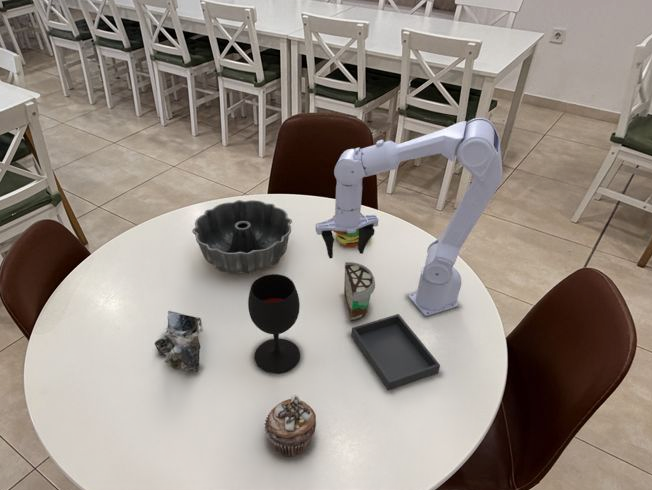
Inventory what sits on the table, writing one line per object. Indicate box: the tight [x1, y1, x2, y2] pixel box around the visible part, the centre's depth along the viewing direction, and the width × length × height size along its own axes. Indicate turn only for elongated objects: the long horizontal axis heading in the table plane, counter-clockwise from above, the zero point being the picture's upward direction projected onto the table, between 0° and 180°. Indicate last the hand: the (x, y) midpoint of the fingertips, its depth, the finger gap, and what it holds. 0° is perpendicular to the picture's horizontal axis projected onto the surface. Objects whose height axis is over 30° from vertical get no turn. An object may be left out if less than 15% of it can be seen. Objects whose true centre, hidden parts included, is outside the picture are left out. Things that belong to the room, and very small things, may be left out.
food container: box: [343, 261, 376, 323], centre depth 118 cm, size 12×6×10 cm, turn 5°
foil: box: [154, 310, 204, 373], centre depth 111 cm, size 12×11×15 cm
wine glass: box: [247, 273, 301, 375], centre depth 104 cm, size 10×10×20 cm
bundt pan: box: [192, 199, 293, 276], centre depth 135 cm, size 26×26×10 cm
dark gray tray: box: [350, 313, 441, 392], centre depth 110 cm, size 12×17×3 cm
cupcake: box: [263, 394, 317, 458], centre depth 92 cm, size 10×10×10 cm
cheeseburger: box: [332, 212, 372, 248], centre depth 140 cm, size 10×11×10 cm
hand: (345, 253), depth 121 cm, fingers open, 7 cm apart
